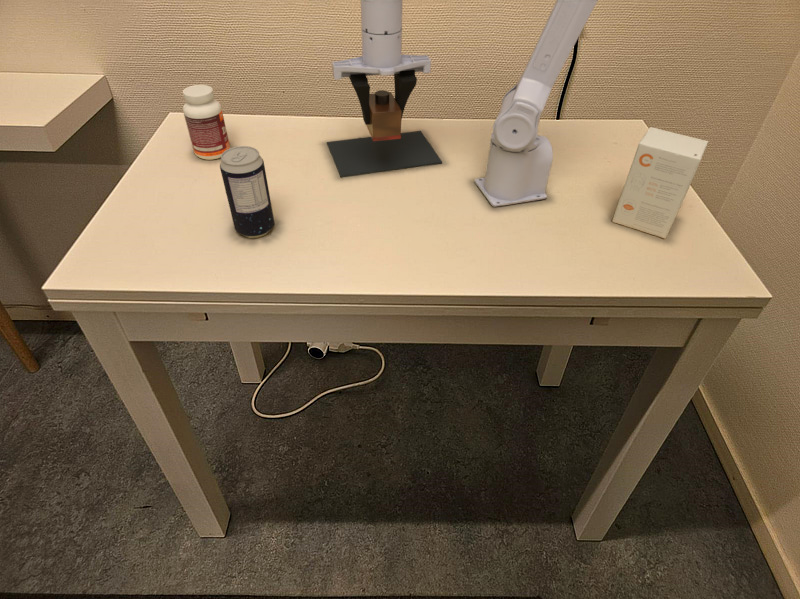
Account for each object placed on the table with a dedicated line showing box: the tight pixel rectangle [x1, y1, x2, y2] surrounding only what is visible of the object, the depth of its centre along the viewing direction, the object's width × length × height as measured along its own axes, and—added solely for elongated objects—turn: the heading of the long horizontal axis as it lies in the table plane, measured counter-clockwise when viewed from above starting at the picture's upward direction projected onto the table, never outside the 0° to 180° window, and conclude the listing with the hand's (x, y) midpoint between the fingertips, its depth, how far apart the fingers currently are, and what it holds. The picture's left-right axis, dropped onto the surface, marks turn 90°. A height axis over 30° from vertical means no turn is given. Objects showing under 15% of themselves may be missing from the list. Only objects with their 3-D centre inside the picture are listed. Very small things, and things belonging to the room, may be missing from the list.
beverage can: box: [219, 145, 275, 239], centre depth 74 cm, size 6×6×12 cm
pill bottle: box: [182, 84, 231, 161], centre depth 90 cm, size 6×6×11 cm
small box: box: [611, 126, 709, 239], centre depth 77 cm, size 8×6×13 cm
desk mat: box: [326, 130, 443, 178], centre depth 95 cm, size 18×12×1 cm, turn 107°
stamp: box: [365, 89, 402, 141], centre depth 83 cm, size 4×7×6 cm, turn 14°
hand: (382, 120), depth 84 cm, fingers closed on stamp, 4 cm apart
